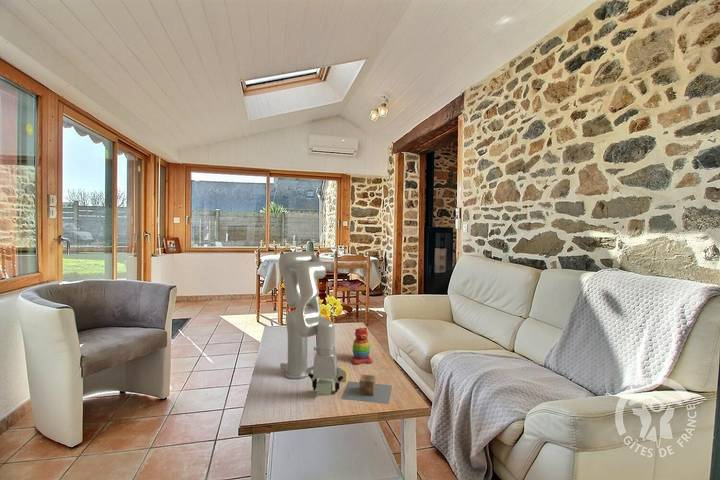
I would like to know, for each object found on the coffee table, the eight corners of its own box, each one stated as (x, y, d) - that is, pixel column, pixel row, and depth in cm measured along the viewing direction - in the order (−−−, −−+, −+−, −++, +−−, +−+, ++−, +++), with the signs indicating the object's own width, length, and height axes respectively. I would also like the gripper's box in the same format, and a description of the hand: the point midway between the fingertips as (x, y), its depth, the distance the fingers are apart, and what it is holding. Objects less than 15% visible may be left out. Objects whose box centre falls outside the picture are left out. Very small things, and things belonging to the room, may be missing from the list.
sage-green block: (316, 397, 143) (316, 383, 143) (320, 390, 149) (320, 377, 149) (330, 398, 142) (330, 385, 142) (333, 392, 148) (333, 378, 148)
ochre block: (333, 384, 155) (333, 371, 155) (336, 378, 161) (336, 366, 161) (346, 385, 154) (346, 372, 154) (348, 379, 160) (348, 367, 160)
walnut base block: (359, 394, 143) (359, 380, 142) (361, 387, 149) (361, 374, 148) (373, 395, 142) (373, 382, 141) (375, 389, 148) (375, 375, 147)
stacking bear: (353, 365, 176) (354, 331, 175) (349, 358, 186) (349, 326, 185) (373, 363, 179) (374, 330, 178) (367, 356, 189) (368, 324, 188)
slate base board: (340, 402, 139) (340, 398, 139) (348, 384, 155) (348, 381, 155) (388, 407, 136) (388, 403, 136) (392, 388, 151) (392, 385, 151)
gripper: (303, 352, 142) (303, 392, 143) (343, 355, 139) (343, 395, 140) (309, 346, 150) (309, 384, 150) (347, 348, 147) (347, 387, 147)
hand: (325, 389), depth 145 cm, fingers open, 9 cm apart
